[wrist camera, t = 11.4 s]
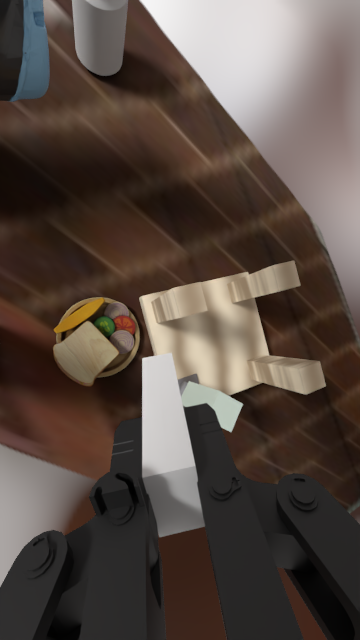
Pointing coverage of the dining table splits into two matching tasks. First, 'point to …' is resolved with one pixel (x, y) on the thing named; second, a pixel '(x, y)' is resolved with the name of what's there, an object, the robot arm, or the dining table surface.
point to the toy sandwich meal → (95, 340)
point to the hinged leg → (211, 402)
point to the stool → (226, 333)
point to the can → (100, 34)
